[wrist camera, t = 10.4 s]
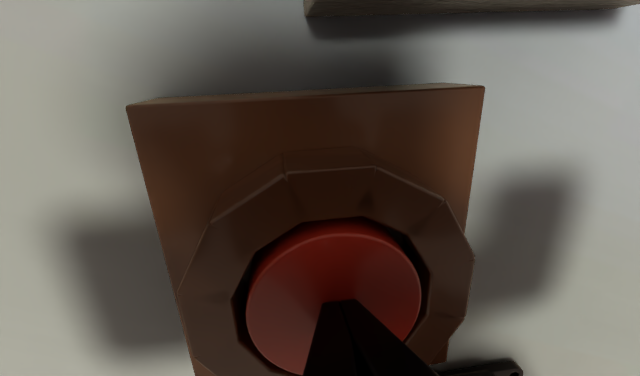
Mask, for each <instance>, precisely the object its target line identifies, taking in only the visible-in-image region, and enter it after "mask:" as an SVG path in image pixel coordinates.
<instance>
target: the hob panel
mask: <svg viewBox="0 0 640 376" xmlns="http://www.w3.org/2000/svg"><path fill="white" fill-rule="evenodd" d="M636 4H640V0H304V15H305V16H306V17H323V16H362V15H402V14H441V13H481V12H520V11H560V10H599V9H614V8H620V7H625V6H631V5H636Z"/></svg>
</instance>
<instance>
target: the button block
mask: <svg viewBox="0 0 640 376" xmlns="http://www.w3.org/2000/svg"><path fill="white" fill-rule="evenodd" d="M484 92H485V87H484V86H480V85H466V84H452V83H430V84H411V85H392V86H373V87H354V88H335V89H316V90H297V91H278V92H259V93H240V94H221V95H202V96H183V97H164V98H156V99H151V100H147V101H143V102H139V103H134V104H130V105H127V106H126V111H127V115H128V119H129V123H130V127H131V131H132V135H133V138H134V142H135V146H136V150H137V154H138V158H139V161H140V165H141V169H142V173H143V177H144V181H145V185H146V188H147V192H148V196H149V200H150V204H151V208H152V211H153V215H154V219H155V223H156V227H157V231H158V234H159V238H160V242H161V246H162V250H163V254H164V258H165V261H166V265H167V269H168V273H169V277H170V281H171V284H172V288H173V292H174V296H175V300H176V304H177V308H178V311H179V315H180V319H181V323H182V327H183V331H184V334H185V338H186V342H187V346H188V350H189V354H190V358H191V361H192V365H193V369H194V373H195V376H303V375H299V374H295V373H292V372H289V371H286V370H284V369H282V368H280V367H278V366H276V365H275V364H273V363H271V362H270V361H269V360H268V359H267V358H265V357H264V356H263V355H262V354H261V353H260V351H259V350H258V349H257V347H256V346H255V344H254V343H253V341H252V339H251V337H250V334H249V332H248V328H247V324H246V315H245V311H246V301H247V293H248V284H249V276H250V267H251V262H252V258H253V256H254V254H255V252H256V251H258V250H260V249H261V248H263V247H264V246H266V245H267V244H269V243H270V242H272V241H274V240H275V239H277V238H278V237H280V236H281V235H283V234H284V233H286V232H288V231H289V230H291V229H292V228H294V227H295V226H297V225H299V224H300V223H302V222H309V221H319V220H328V219H338V218H348V217H358V216H363V217H366V218H368V219H370V220H373V221H375V222H377V223H379V224H382V225H384V226H386V228H387V229H388V230H389V232H390V233H391V234H392V236H393V237H394V239H395V240H396V241H397V243H398V244H399V245H400V247H401V248H402V250H403V251H404V252H405V254H406V255H407V257H408V258H409V259H410V261H411V262H412V263H413V265H414V267H415V269H416V271H417V273H418V277H419V280H420V285H421V305H420V310H419V314H418V317H417V319H416V322H415V324H414V326H413V328H412V329H411V331H410V332H409V334H408V335H407V337H406V338H405V339H404V340H403V343H405V344H406V345H407V346H408V347H409V348H410V349H411V350H412V351H413V352H414V353H415V354H416V355H418V356H419V357H420V358H421V359H422V360H423V361H424V362H425V363H426V364H427V365H428V366H429V365H432V364H438V363H444V362H446V359H447V352H448V345H449V339H450V337H451V336H452V335H453V333H454V332H455V331H456V330H457V328H458V327H459V326H460V324H461V323H462V322H463V321H464V317H465V316H466V312H467V306H468V300H469V294H470V288H471V282H472V275H473V269H474V263H475V258H474V257H475V255H474V253H473V251H472V249H471V247H470V245H469V243H468V241H467V239H466V237H465V235H464V233H465V226H466V219H467V212H468V205H469V198H470V191H471V184H472V177H473V170H474V163H475V156H476V149H477V142H478V135H479V127H480V120H481V113H482V106H483V99H484Z"/></svg>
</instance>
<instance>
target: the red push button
mask: <svg viewBox="0 0 640 376" xmlns="http://www.w3.org/2000/svg"><path fill="white" fill-rule="evenodd" d="M346 299H357V300H358V301H359V302H360V303H361V304H362V305H363V306H364V307H365V308H367V309H368V310H369V311H370V312H371V313H372V314H373V315H374V316H375V317H376V318H377V319H378V320H380V321H381V322H382V323H383V324H384V325H385V326H386V327H387V328H388V329H389V330H390V331H391V332H393V333H394V334H395V335H396V336H397V337H398V338H399V339H400V340H401V341H402V342H403V340H404V339H405V338H406V337H407V335H408V334H409V332H410V331H411V329H412V328H413V326H414V324H415V322H416V319H417V317H418V314H419V310H420V305H421V285H420V280H419V277H418V273H417V271H416V269H415V267H414V265H413V263H412V262H411V261H410V259H409V258H408V257H407V255H406V254H405V252H404V251H403V250H402V248H401V247H400V245H399V244H398V243H397V241H396V240H395V239H394V237H393V236H392V234H391V233H390V232H389V230H388V229H387V228H386V226H384V225H382V224H379V223H377V222H375V221H373V220H370V219H368V218H366V217H363V216H358V217H348V218H338V219H328V220H319V221H309V222H302V223H300V224H299V225H297V226H295V227H294V228H292V229H291V230H289V231H288V232H286V233H284V234H283V235H281V236H280V237H278V238H277V239H275V240H274V241H272V242H270V243H269V244H267V245H266V246H264V247H263V248H261V249H260V250H258V251H256V252H255V254H254V256H253V258H252V262H251V267H250V276H249V284H248V293H247V301H246V311H245V315H246V324H247V328H248V332H249V334H250V337H251V339H252V341H253V343H254V344H255V346H256V347H257V349H258V350H259V351H260V353H261V354H262V355H263V356H264V357H265V358H267V359H268V360H269V361H270V362H271V363H273V364H275V365H276V366H278V367H280V368H282V369H284V370H286V371H289V372H292V373H295V374H299V375H303V372H304V368H305V364H306V361H307V357H308V353H309V350H310V346H311V342H312V338H313V335H314V331H315V327H316V323H317V320H318V316H319V312H320V308H321V305H322V303H324V302H331V301H338V302H340V301H341V300H346Z"/></svg>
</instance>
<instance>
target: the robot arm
mask: <svg viewBox="0 0 640 376" xmlns="http://www.w3.org/2000/svg"><path fill="white" fill-rule="evenodd" d="M303 376H523V370H522V369H521V368H520V367H519V365H518V364H517V363H516V362H514V361H507V362H501V363H495V364H489V365H483V366H477V367H471V368H465V369H459V370H453V371H447V372H441V373H436V372H435V371H434V370H433V369H432V368H431V367H429V366H428V365H427V364H426V363H425V362H424V361H423V360H422V359H421V358H420V357H419V356H418V355H416V354H415V353H414V352H413V351H412V350H411V349H410V348H409V347H408V346H407V345H406V344H405V343H403V342H402V341H401V340H400V339H399V338H398V337H397V336H396V335H395V334H394V333H393V332H391V331H390V330H389V329H388V328H387V327H386V326H385V325H384V324H383V323H382V322H381V321H380V320H378V319H377V318H376V317H375V316H374V315H373V314H372V313H371V312H370V311H369V310H368V309H367V308H365V307H364V306H363V305H362V304H361V303H360V302H359V301H358V300H357V299H346V300H341V301H340V302H338V301H331V302H324V303H322V305H321V308H320V312H319V316H318V320H317V323H316V327H315V331H314V335H313V338H312V342H311V346H310V350H309V353H308V357H307V361H306V364H305V368H304V372H303Z"/></svg>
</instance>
